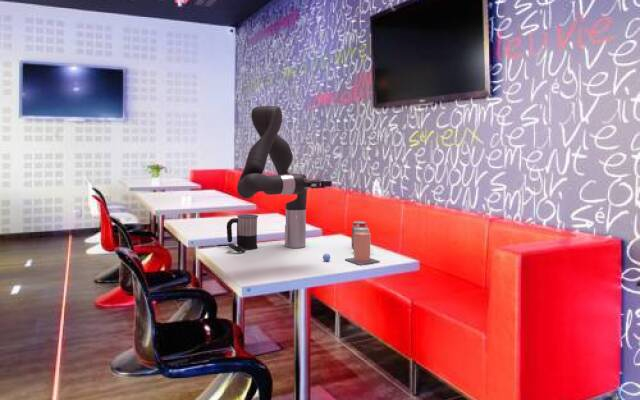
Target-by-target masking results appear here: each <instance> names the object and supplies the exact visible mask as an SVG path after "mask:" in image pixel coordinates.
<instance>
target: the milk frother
mask: <svg viewBox="0 0 640 400" xmlns="http://www.w3.org/2000/svg"><path fill="white" fill-rule="evenodd" d="M258 217H259V216H258V215H256V214H248V213H247V214H237V216H236V217H235V218H234V217H233V218H230V219H229V220H228V221H227V223H226V237H227V238H226V239H227V242H228V243H229V244H228V246H227V247H228V248H230V249H232V250H235V252H237V253H240V252H241V253H245V252H246V250H247V251H248V250H249V251H250V250H256V249H257V248H258V237H257V236H258V233H257V232H258ZM233 224H236V245H235V244H232V242H233V231H232V230H233V228H232V225H233Z"/></svg>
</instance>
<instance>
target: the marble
mask: <svg viewBox="0 0 640 400" xmlns="http://www.w3.org/2000/svg"><path fill="white" fill-rule="evenodd" d="M322 259H323V261H324V262H328V261H330V259H331V255H330V254H329V253H324V254H323V256H322Z"/></svg>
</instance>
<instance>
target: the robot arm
mask: <svg viewBox="0 0 640 400" xmlns="http://www.w3.org/2000/svg"><path fill="white" fill-rule="evenodd" d="M250 115H251V116H250V117H251V121H252V125H253V127H254V129H255V131H256V132H257V133H258V136H259V137H260V138H259V139H258V140H257V141H256V142H255V143H254V144H253V145H252V146H251V148H250V149H249V152H248V153H247V154H248V155H247V157H246V161H245V164H244V168H243V171H242V172H241V175H240V177H239V180H238V181H237V185H236V191H237V193H238V195H239V196H240V197H241V198H242V199H251V198H252V197H254V196H255V195H256V194H258V193H259V192H263V193H264V194H265V195H269V196H270V195H271V196H272V195H296V196H297V197H296V198H295V199H293V200H290V201H287V202H286V203H285V225H284V245H285V247H286V248H288V249H289V248H290V249H300V248H305V247H306V245H307V244H306V238H307V237H306V233H307V229H306V228H307V227H306V226H307V219H306V218H307V216H306V215H307V200H308V199H307V196H308V195H307V194H308V193H307V192H308V190H310V189H311V190H312V189H315V190H316V189H325V188H327V187H332V180H320V179H318V178H316V179H315V178H312V179H311V178H308V177H307V176H306V175H305V174H303V173H290V172H289V168H290V167H291V165H292V162H293V159H294V156H293V152H292V149H291V147H290V145H289V143H288V142H287V141H286V140H285V139H284V138H283V137H281V136H280V135H278V133H279V131H280V129H281V126H282V124H283V111H282V109H281V108H280V106H278V105H259V106H258V105H257V106H255V107H254V108H252V109H251V114H250ZM268 156H269V157H270V160H271V162H272V164H273V166H274V168H275V170H276V173H277V175H266V174H263V173H264V171H265V167H266V164H267V160H268Z"/></svg>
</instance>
